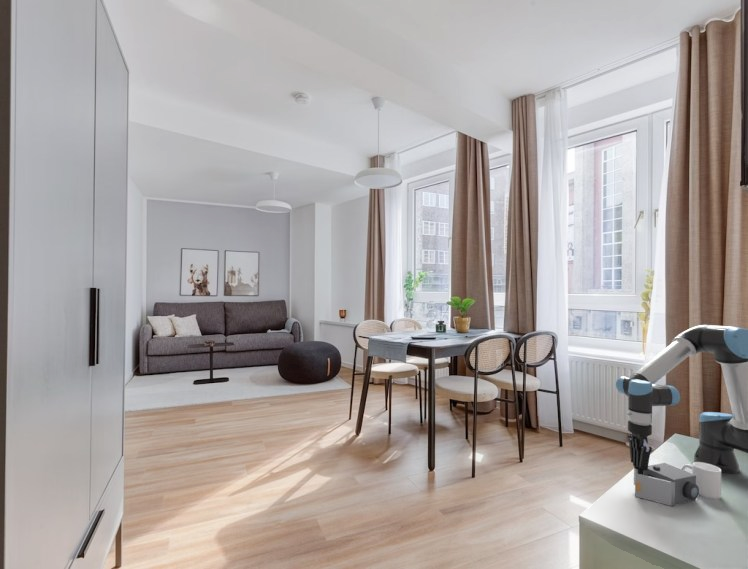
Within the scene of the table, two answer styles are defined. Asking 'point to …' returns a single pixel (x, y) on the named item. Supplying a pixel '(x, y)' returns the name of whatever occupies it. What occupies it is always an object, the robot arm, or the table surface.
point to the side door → (655, 489)
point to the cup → (706, 479)
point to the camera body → (676, 481)
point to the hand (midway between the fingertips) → (638, 485)
